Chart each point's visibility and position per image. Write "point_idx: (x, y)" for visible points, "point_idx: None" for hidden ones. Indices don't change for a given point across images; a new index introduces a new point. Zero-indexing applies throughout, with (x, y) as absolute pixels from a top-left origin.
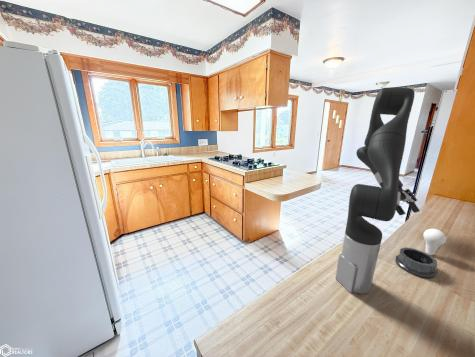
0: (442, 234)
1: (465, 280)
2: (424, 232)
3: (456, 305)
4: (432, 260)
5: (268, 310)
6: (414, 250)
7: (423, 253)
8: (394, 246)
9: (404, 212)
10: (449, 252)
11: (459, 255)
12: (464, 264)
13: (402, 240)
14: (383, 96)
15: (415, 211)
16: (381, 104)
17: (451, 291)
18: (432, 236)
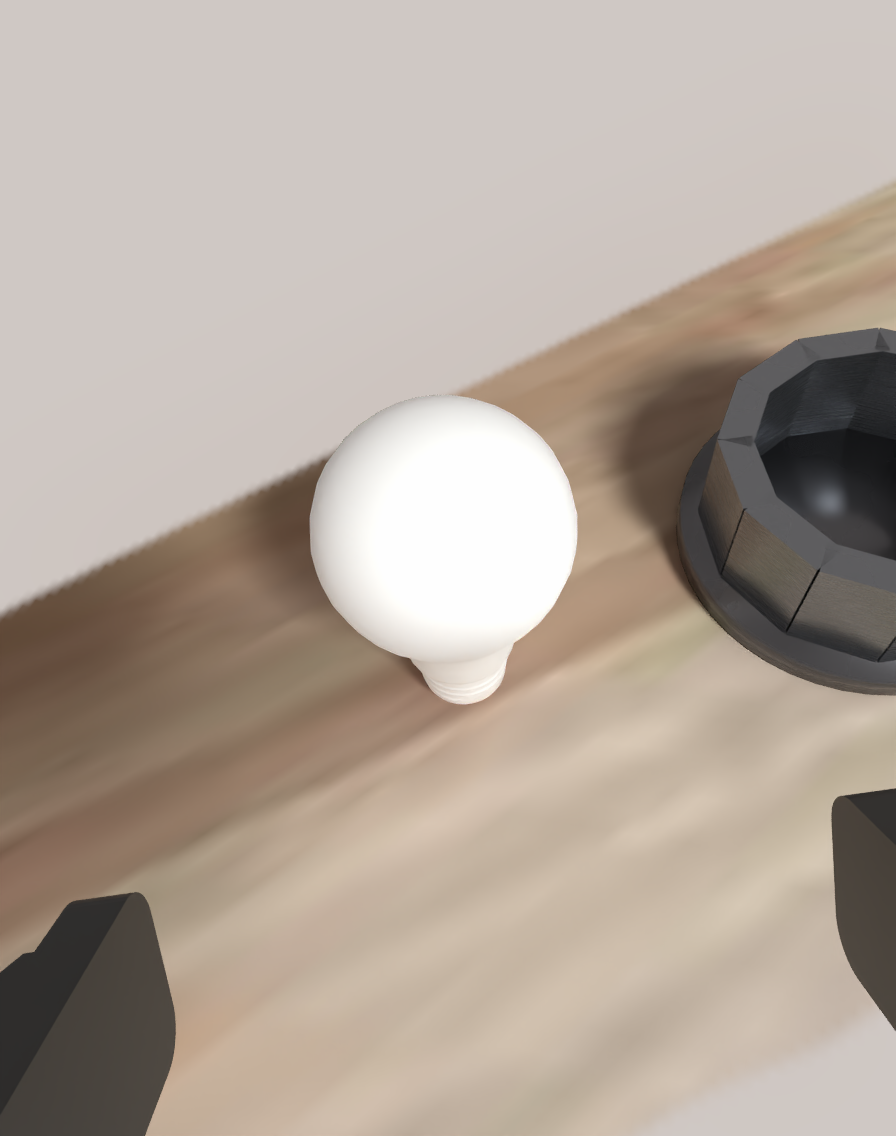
0: (433, 395)
1: (536, 377)
2: (530, 591)
3: (870, 244)
4: (769, 398)
5: None
6: (830, 546)
7: (767, 484)
8: (788, 908)
9: (881, 802)
10: (173, 672)
11: (139, 616)
12: (284, 509)
13: (500, 1038)
14: None
15: (153, 996)
16: None
17: (781, 316)
18: (556, 461)
